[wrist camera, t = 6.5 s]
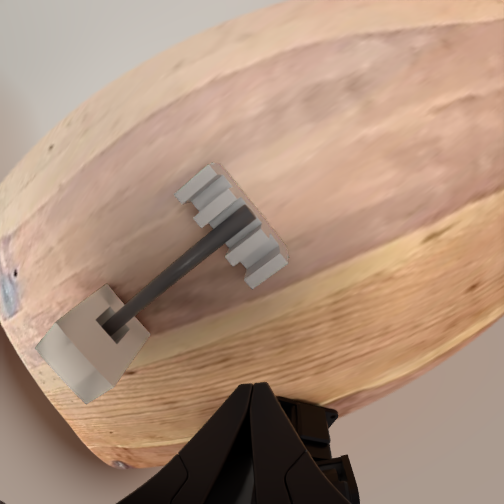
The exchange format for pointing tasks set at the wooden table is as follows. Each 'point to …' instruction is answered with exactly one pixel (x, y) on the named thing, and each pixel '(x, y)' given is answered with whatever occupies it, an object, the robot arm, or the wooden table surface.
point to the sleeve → (92, 345)
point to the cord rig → (215, 239)
